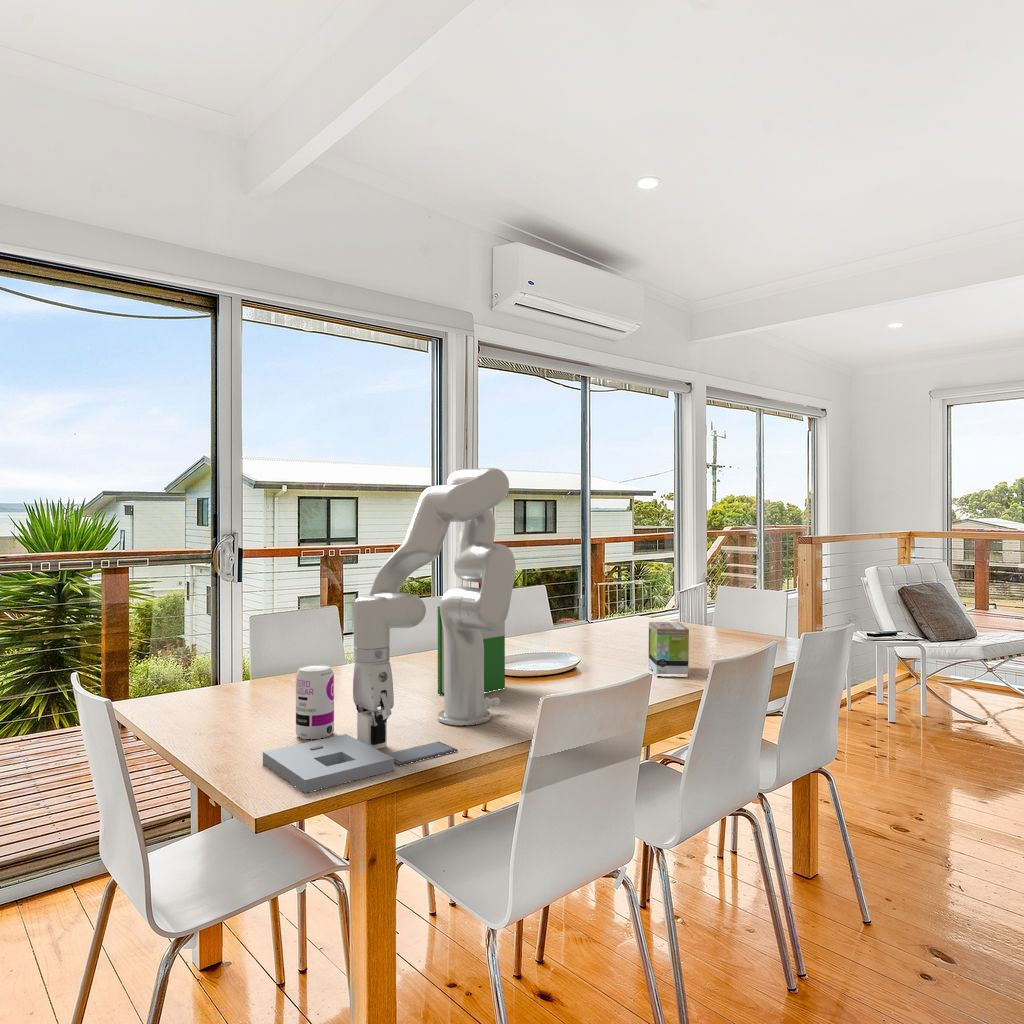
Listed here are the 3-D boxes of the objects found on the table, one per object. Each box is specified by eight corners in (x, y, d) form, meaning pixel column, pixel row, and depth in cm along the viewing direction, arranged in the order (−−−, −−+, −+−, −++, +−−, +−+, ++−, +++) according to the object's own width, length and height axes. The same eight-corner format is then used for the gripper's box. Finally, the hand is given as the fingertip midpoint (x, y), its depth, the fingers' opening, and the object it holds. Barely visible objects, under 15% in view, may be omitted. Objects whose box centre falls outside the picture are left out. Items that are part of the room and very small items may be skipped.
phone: (438, 746, 159) (438, 740, 159) (457, 754, 153) (457, 748, 153) (381, 760, 150) (381, 754, 150) (399, 769, 145) (399, 763, 145)
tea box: (689, 678, 220) (689, 628, 220) (655, 678, 220) (655, 628, 220) (679, 667, 235) (679, 620, 235) (647, 667, 235) (647, 620, 235)
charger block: (376, 741, 160) (376, 708, 160) (386, 746, 157) (386, 712, 157) (357, 745, 157) (357, 712, 157) (367, 751, 154) (367, 716, 154)
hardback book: (454, 700, 195) (453, 609, 195) (437, 694, 200) (437, 606, 200) (504, 689, 207) (504, 603, 206) (488, 684, 212) (487, 601, 212)
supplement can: (337, 729, 169) (337, 663, 169) (329, 740, 161) (329, 671, 161) (301, 729, 169) (301, 664, 169) (291, 741, 160) (291, 672, 160)
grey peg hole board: (346, 745, 158) (346, 733, 158) (394, 770, 142) (394, 757, 142) (262, 763, 146) (262, 750, 146) (305, 793, 131) (305, 779, 131)
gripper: (407, 658, 153) (408, 746, 153) (368, 647, 166) (368, 728, 166) (375, 663, 148) (375, 754, 148) (337, 651, 161) (337, 734, 161)
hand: (371, 739), depth 157 cm, fingers open, 4 cm apart
